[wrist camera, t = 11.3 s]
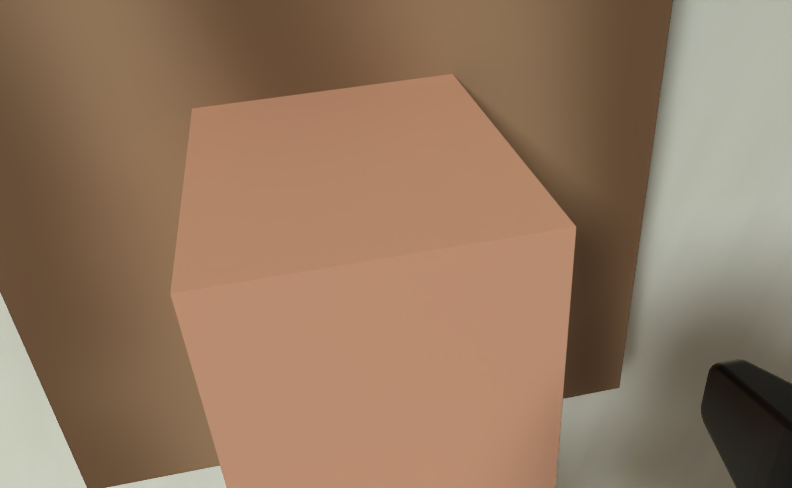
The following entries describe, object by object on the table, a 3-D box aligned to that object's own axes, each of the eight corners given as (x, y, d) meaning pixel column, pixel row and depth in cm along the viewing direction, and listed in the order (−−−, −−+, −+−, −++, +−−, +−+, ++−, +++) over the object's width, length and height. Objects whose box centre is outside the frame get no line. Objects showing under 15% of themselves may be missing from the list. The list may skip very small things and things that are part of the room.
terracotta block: (452, 73, 14) (576, 227, 9) (458, 282, 17) (555, 489, 12) (192, 108, 13) (170, 293, 8) (240, 319, 16) (246, 554, 11)
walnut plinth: (601, -218, 16) (703, -222, 12) (562, 302, 23) (619, 387, 20) (-93, -164, 14) (-196, -151, 10) (110, 381, 21) (88, 491, 18)
